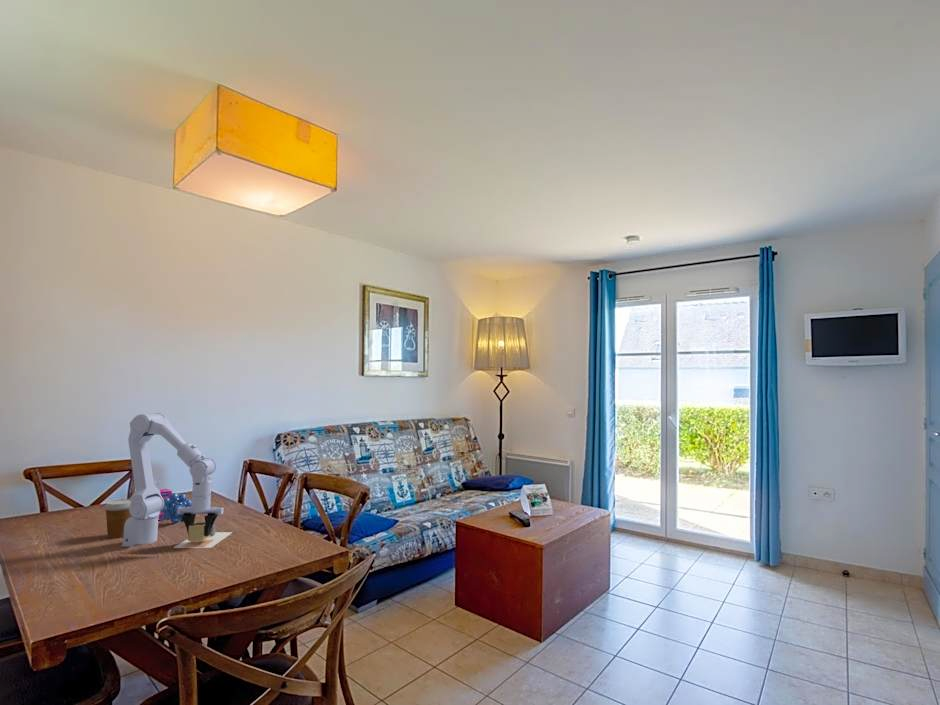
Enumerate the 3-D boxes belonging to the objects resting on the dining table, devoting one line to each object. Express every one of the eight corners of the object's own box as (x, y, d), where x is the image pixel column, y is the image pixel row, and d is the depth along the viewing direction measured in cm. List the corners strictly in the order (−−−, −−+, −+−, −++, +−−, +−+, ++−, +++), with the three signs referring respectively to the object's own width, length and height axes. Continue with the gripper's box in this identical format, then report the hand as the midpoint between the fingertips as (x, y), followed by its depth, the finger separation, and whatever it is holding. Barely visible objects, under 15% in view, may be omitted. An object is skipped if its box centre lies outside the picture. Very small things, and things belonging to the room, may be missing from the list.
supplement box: (154, 521, 199) (156, 492, 200) (148, 519, 203) (150, 490, 204) (170, 519, 204) (172, 490, 205) (164, 516, 207) (166, 488, 208)
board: (173, 550, 166) (174, 536, 166) (198, 534, 184) (199, 522, 184) (210, 550, 167) (211, 536, 167) (232, 534, 185) (233, 522, 185)
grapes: (160, 528, 191) (162, 496, 191) (157, 524, 196) (159, 493, 196) (195, 523, 198) (196, 492, 199) (190, 519, 203) (192, 489, 204)
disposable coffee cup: (95, 537, 177) (98, 503, 178) (121, 530, 186) (123, 497, 187) (115, 540, 174) (118, 505, 175) (140, 533, 183) (143, 500, 184)
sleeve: (187, 540, 169) (188, 525, 169) (195, 536, 174) (196, 521, 174) (203, 540, 169) (204, 525, 169) (209, 536, 174) (210, 521, 174)
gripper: (228, 492, 177) (225, 532, 176) (185, 492, 176) (182, 532, 175) (219, 497, 170) (217, 538, 169) (174, 496, 169) (172, 538, 168)
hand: (199, 535), depth 171 cm, fingers closed on sleeve, 5 cm apart
